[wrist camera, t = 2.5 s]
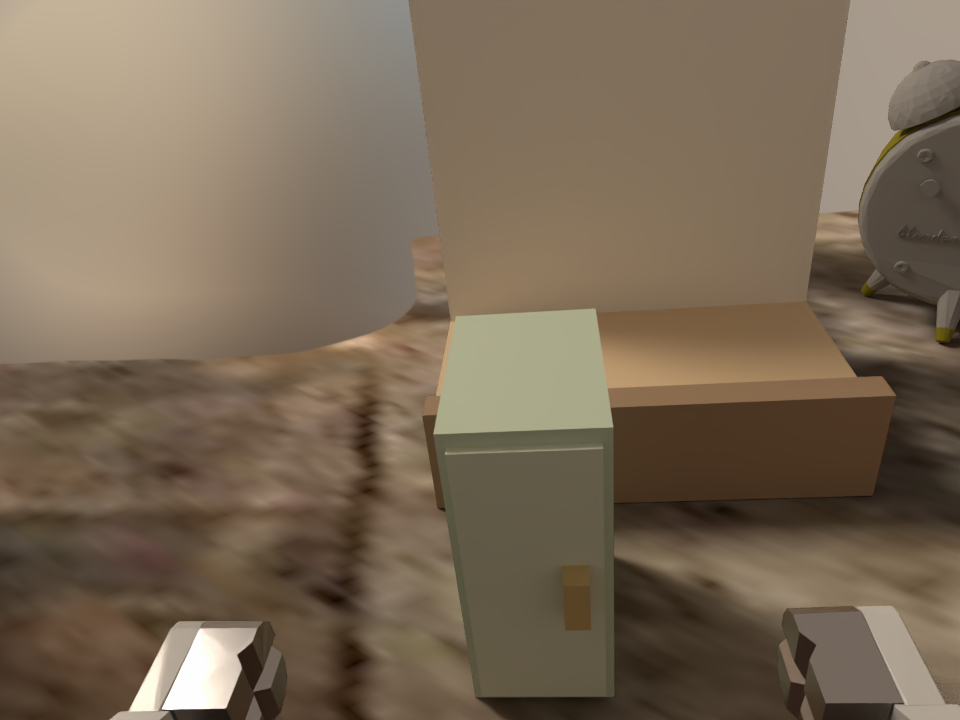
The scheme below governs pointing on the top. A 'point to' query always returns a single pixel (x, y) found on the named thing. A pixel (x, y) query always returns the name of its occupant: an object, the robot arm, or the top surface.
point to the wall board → (657, 224)
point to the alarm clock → (918, 195)
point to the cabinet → (531, 501)
